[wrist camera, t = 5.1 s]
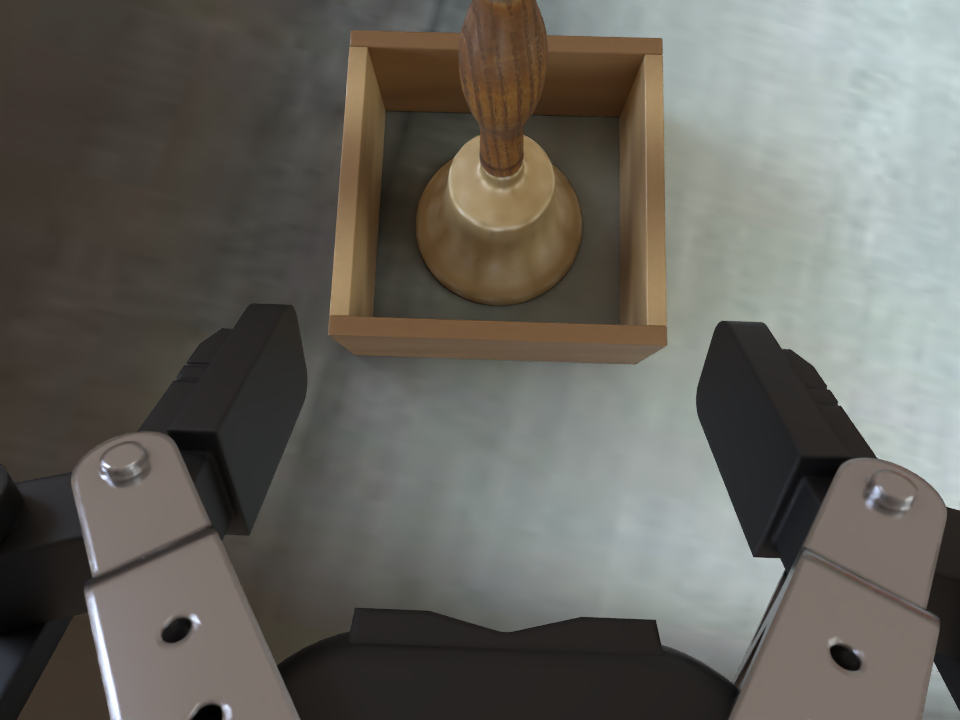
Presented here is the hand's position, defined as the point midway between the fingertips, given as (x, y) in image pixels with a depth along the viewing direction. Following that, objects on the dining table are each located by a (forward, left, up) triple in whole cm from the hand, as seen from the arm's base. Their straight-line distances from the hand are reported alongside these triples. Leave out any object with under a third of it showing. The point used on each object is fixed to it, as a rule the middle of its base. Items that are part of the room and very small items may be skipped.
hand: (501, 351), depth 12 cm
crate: (+6, +7, -17) cm, 20 cm away
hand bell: (+6, +7, -17) cm, 20 cm away
